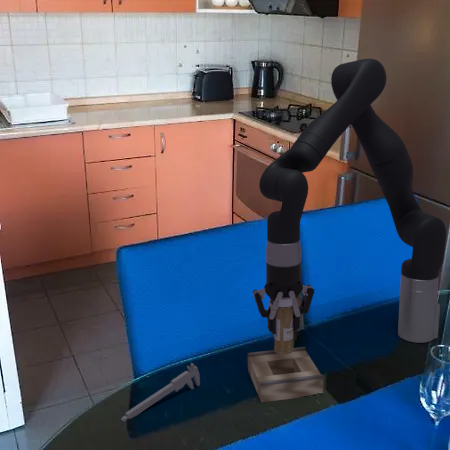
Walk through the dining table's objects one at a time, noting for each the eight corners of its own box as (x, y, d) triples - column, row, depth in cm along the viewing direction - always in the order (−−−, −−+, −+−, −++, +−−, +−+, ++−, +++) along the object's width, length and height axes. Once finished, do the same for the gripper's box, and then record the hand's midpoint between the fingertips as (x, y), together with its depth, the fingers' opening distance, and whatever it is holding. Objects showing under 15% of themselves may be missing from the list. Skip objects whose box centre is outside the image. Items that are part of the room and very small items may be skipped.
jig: (304, 363, 144) (304, 346, 142) (323, 394, 130) (323, 376, 129) (248, 370, 142) (247, 353, 140) (261, 402, 128) (260, 383, 127)
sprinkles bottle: (293, 355, 132) (294, 299, 128) (273, 355, 132) (272, 299, 128) (293, 346, 136) (294, 291, 132) (273, 345, 136) (273, 291, 133)
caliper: (197, 384, 137) (196, 360, 135) (200, 386, 136) (199, 362, 134) (120, 420, 124) (118, 394, 122) (123, 423, 123) (121, 396, 121)
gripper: (310, 251, 133) (309, 321, 137) (247, 256, 131) (249, 327, 135) (320, 262, 126) (319, 335, 130) (254, 267, 123) (256, 342, 128)
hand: (283, 331), depth 133 cm, fingers closed on sprinkles bottle, 4 cm apart
